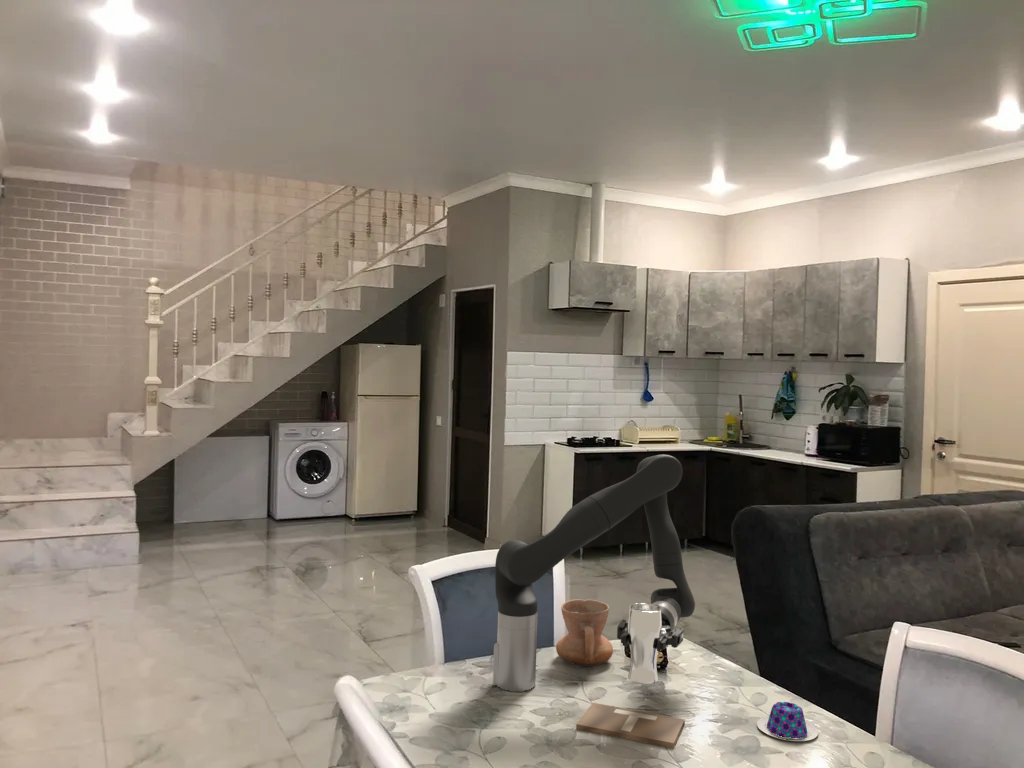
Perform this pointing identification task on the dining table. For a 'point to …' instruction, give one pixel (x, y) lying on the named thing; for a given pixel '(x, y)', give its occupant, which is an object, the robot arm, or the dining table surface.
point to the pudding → (787, 722)
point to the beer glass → (644, 641)
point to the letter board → (631, 724)
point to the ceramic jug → (584, 633)
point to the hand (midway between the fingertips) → (641, 643)
